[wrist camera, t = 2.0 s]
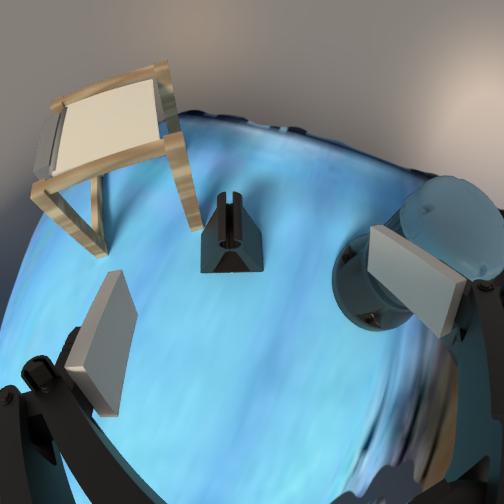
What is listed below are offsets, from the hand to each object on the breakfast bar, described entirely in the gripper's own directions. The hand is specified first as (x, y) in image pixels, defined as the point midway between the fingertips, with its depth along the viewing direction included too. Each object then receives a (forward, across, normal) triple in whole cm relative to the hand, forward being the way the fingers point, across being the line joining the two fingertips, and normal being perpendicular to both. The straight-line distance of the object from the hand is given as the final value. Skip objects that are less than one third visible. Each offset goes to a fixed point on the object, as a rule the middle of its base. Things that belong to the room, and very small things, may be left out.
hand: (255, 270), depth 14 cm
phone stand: (+26, +1, -11) cm, 28 cm away
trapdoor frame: (+35, -13, -2) cm, 38 cm away
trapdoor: (+24, -14, +9) cm, 29 cm away
